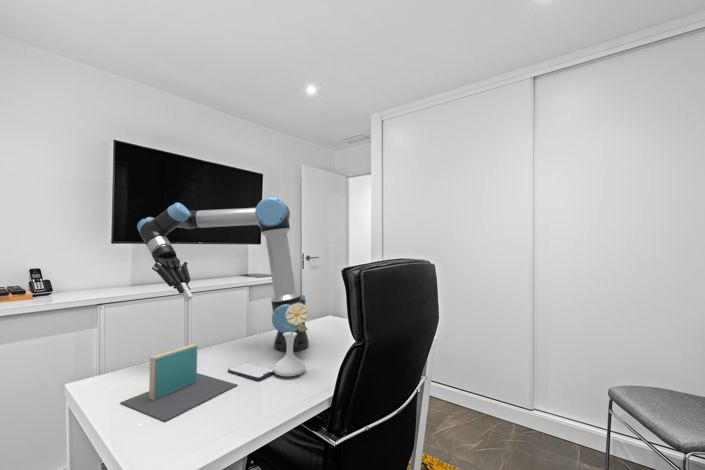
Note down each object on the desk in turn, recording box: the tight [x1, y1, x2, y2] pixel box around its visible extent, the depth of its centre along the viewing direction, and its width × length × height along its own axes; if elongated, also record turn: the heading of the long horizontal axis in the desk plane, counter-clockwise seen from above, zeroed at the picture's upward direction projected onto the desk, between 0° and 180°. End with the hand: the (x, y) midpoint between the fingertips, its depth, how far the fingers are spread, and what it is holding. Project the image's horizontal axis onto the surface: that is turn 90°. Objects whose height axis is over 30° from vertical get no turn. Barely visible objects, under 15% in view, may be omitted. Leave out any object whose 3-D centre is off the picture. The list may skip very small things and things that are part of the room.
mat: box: [120, 372, 238, 423], centre depth 97 cm, size 24×20×1 cm
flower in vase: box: [272, 303, 310, 377], centre depth 114 cm, size 13×11×25 cm
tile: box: [148, 343, 198, 400], centre depth 99 cm, size 14×2×12 cm, turn 153°
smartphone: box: [227, 362, 276, 382], centre depth 114 cm, size 9×2×16 cm
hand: (189, 298), depth 116 cm, fingers closed
